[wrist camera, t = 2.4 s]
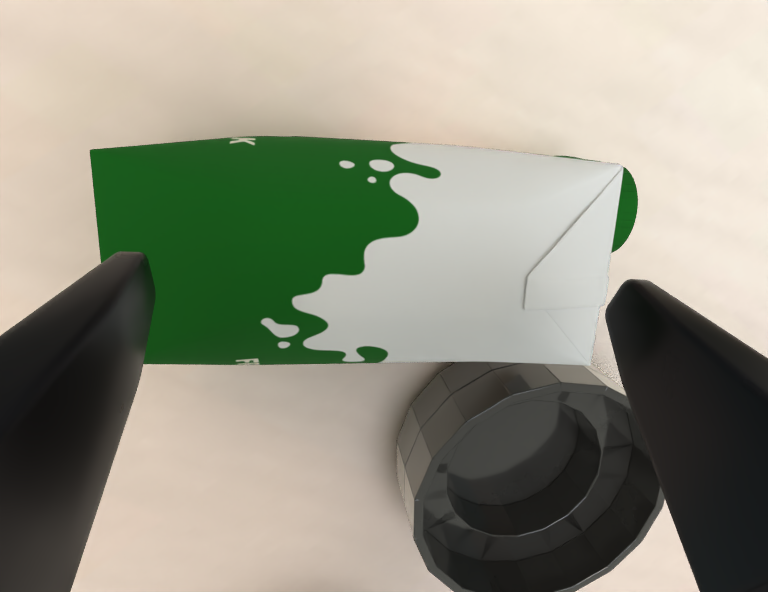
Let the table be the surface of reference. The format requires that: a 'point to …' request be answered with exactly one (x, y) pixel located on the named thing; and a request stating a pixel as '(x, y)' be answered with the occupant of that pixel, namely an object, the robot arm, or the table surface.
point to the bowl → (524, 476)
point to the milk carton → (364, 249)
